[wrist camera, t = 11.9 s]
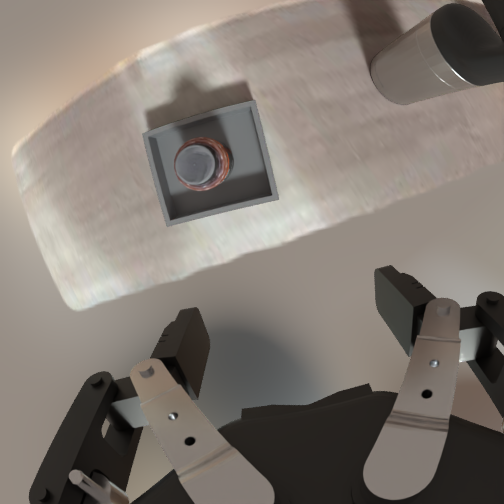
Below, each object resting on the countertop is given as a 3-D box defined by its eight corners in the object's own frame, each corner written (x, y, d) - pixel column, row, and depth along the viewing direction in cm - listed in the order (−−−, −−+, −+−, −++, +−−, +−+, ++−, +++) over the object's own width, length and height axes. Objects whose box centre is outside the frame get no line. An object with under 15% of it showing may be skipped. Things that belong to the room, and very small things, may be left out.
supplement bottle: (188, 144, 35) (162, 138, 24) (232, 138, 35) (222, 129, 24) (193, 186, 37) (168, 197, 26) (236, 182, 37) (228, 190, 26)
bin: (255, 105, 34) (255, 99, 30) (277, 195, 38) (279, 199, 34) (152, 135, 36) (142, 133, 32) (175, 220, 39) (166, 226, 36)
